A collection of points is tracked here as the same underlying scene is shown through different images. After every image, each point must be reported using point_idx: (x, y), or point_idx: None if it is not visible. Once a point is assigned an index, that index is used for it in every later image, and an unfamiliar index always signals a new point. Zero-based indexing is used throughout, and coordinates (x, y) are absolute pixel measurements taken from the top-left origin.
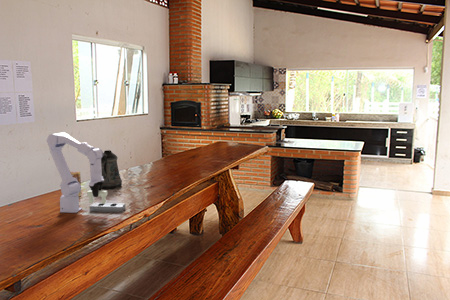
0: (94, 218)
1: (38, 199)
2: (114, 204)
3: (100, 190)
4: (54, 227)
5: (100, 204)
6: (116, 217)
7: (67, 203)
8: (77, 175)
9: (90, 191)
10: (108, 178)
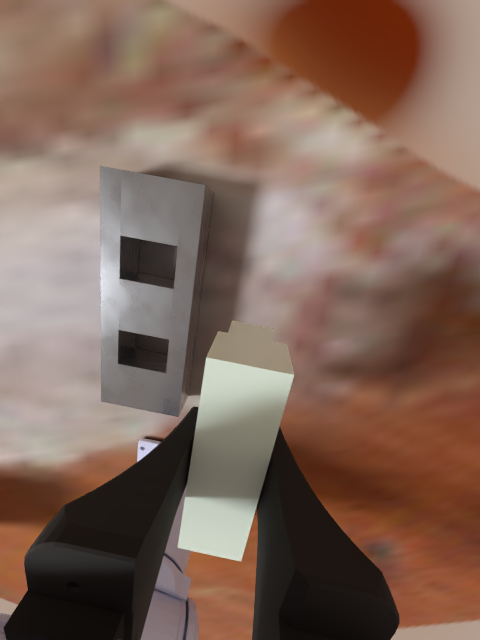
0: (320, 352)
1: None
2: (121, 260)
3: (189, 442)
4: (421, 502)
5: (121, 358)
6: (325, 212)
7: None
8: None
9: (236, 534)
10: None
